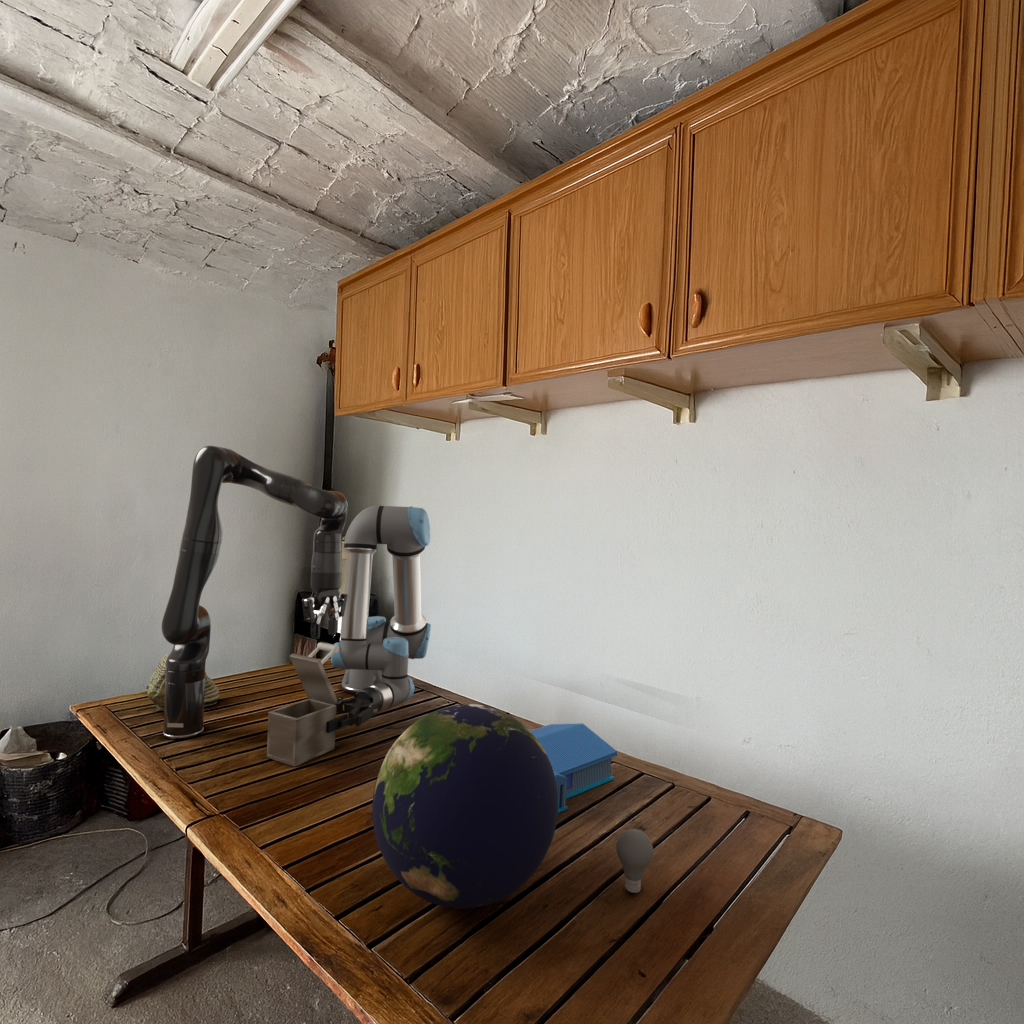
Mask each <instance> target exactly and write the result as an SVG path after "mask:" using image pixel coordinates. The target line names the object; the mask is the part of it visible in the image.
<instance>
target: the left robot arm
mask: <svg viewBox="0 0 1024 1024" xmlns="http://www.w3.org/2000/svg"><path fill="white" fill-rule="evenodd" d="M223 484H234V485H239V486H244V487H248V488H251V489H254V490H256V491H259V492H261V493H262V494H264V495H265V496H267V497H268V498H271V499H272V500H275V501H278V502H279V503H283V504H285V505H288V506H291V507H294V508H298V509H300V510H301V511H302V512H305V513H307V514H308V515H310V516H313V517H316V518H319V519H320V524H319V527H318V528H317V529H316V530H315V531H314V533H313V544H312V557H311V565H310V568H311V569H310V589H312V593H311V595H310V596H309V597H307V598H305V597H303V598H302V599H301V605H302V613H303V620H304V622H307V623H310V637H311V639H314V640H317V639H320V637H321V620H322V617H323V616H324V615H325V613H326V612H327V616H328V623H327V634H328V636H329V635H330V636H336V635H337V632H338V621H339V620H340V618H342V617H343V616H344V613H345V608H346V603H347V597H348V595H347V594H344V592H340V589H341V588H342V580H343V534H344V531H345V527H346V523H347V518H348V512H349V505H348V501H347V498H346V496H345V494H343V493H342V492H340V491H337V490H325V489H322V488H319V487H316V486H313V485H311V483H310V482H307V481H305V480H303V479H301V478H298V477H295V476H292V475H289V474H286V473H282V472H279V471H277V470H273V469H270V468H267V467H265V466H262V465H260V464H258V463H256V462H254V461H252V460H250V459H248V458H247V457H245V456H243V455H241V454H240V453H238V452H236V451H234V450H232V449H230V448H228V447H222V446H217V445H206V446H203V447H202V448H200V449H199V450H198V452H196V454H195V457H194V460H193V463H192V470H191V485H190V493H189V494H190V495H189V502H188V507H187V513H186V518H185V524H184V528H183V533H182V536H181V541H180V547H179V550H178V551H179V552H178V558H177V563H176V568H175V572H174V577H173V584H172V588H171V591H170V595H169V598H168V602H167V604H166V607H165V611H164V614H163V617H162V620H161V633H162V636H163V638H164V639H165V640H166V642H167V643H169V644H171V645H173V647H172V649H171V651H170V653H169V654H168V655H169V656H168V657H167V659H166V674H165V705H164V710H163V731H162V737H164V738H166V739H169V740H185V739H190V738H191V739H192V738H194V737H197V736H199V735H202V734H203V732H204V730H205V729H204V722H205V721H204V718H205V706H204V693H205V672H206V664H207V663H206V662H207V658H208V655H209V653H210V646H211V645H210V643H211V633H212V631H211V630H212V621H211V616H210V613H209V611H208V610H207V608H205V607H204V606H203V605H200V603H201V597H202V593H203V591H204V588H205V586H206V585H207V582H208V581H209V579H210V577H211V575H212V573H213V571H214V569H215V567H216V565H217V562H218V561H219V560H218V559H219V556H220V552H221V546H222V541H223V526H222V522H221V518H220V513H219V496H220V491H221V487H222V485H223ZM148 688H149V684H148V685H147V686H146V688H145V689H146V690H148Z"/></svg>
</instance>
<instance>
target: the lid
mask: <svg viewBox="0 0 1024 1024" xmlns="http://www.w3.org/2000/svg"><path fill="white" fill-rule="evenodd" d="M320 651H325V652H328V653H327V654H326V655H325V656H324V657H323V658H322V659H320V658H316V657H314V656H315V655H316V654H317V653H319V652H320ZM338 651H339V646H336V645H334V644H332V643H326V642H321V641H320V642H318V643H317V644H316V647H315V649H313V650H312V651H311V652H310V654H308V655H303V654H297V653H291V654H290V655H289V659H290V661H291V664H292V665H293V668H294V670H295V672H296V674H297V677H298V679H299V681H300V683H301V686H302V688H303V690H304V692H305V694H306V696H307V697H306V698H308V699H309V698H310V699H313V700H317V701H324V702H328V703H332V704H336V703H337V702H338V700H337V696H336V693H335V690H334V688H333V685H332V684H331V682H330V680H329V677H328V674H327V672H326V669H325V668H324V664H325V663H326V662H327V661H328V660H329V659H331V656H332V655H333V654H334V653H337V652H338Z"/></svg>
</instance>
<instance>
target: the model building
mask: <svg viewBox="0 0 1024 1024" xmlns="http://www.w3.org/2000/svg"><path fill="white" fill-rule="evenodd" d="M529 730H530V732H531V733H532V734H533V735H534V736H535V737H536V738H537V739H538V741H539V742H540V743H541V745H542V747H543V748H544V750H545V752H546V753H547V756H548V758H549V761H550V763H551V765H552V768H553V772H554V775H555V779H556V784H557V791H558V814H559V813H562V812H563V811H566V810H568V809H569V806H567V800H568V799H570V798H572V797H575V796H577V795H580V794H582V793H585V792H587V791H589V790H591V789H594V788H597V787H599V786H601V785H603V784H606V783H609V782H610V781H613V780H615V776H614V775H612V758H614V757H617V756H618V751H617V750H616V749H615V748H614V747H612V746H611V745H610V744H609V743H608V742H607V741H605V740H604V739H603V738H602V737H600V736H599V734H597V733H595V732H594V731H593V730H592V729H590V727H588V726H587V725H586V724H584V723H583V722H581V723H550V724H548V725H547V724H546V725H544V726H543V725H542V726H540V727H537V728H533V729H529Z"/></svg>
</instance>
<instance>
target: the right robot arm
mask: <svg viewBox="0 0 1024 1024" xmlns="http://www.w3.org/2000/svg"><path fill="white" fill-rule="evenodd" d="M430 542H431V525H430V519H429V515H428V512H427V511H426V509H425V508H423V507H416V506H415V507H414V506H412V505H411V506H392V505H379V504H377V505H371V506H368V507H366V508H364V509H363V510H361V511H360V512H359V513H357V514H356V516H355V517H354V519H352V521H351V523H350V524H349V526H348V528H347V530H346V533H345V536H344V541H343V543H344V544H343V550H344V551H345V552H346V563H345V575H344V586H343V587H344V589H343V593H344V594H347V595H348V597H347V603H346V608H345V613H344V616H343V617H341V626H340V627H341V628H340V641H339V642H335V643H333V645H336V646H339V651H338V652H337V653H334V654H333V655H332V656H331V657H330V662H331V666H332V667H333V668H334V669H343V670H345V672H344V675H343V678H342V681H341V686H340V687H341V690H342V691H343V692H345V693H347V694H352V695H354V696H353V697H348V698H346V699H344V696H342V695H340V696H336V698H337V700H338V702H337V703H336V704H333V705H336V714H338V713H340V715H339V716H336V718H335V719H332V720H330V721H327V730H326V732H327V733H330V732H332V731H335V732H336V731H337V730H339V729H342V728H345V727H347V726H353V725H355V726H356V727H360V726H361V725H363V724H364V723H366V722H367V721H369V720H370V719H371V718H373V717H375V716H378V714H379V713H380V712H381V711H384V710H387V709H389V708H392V707H394V706H397V705H401V704H403V703H404V702H406V701H407V700H410V699H411V698H412V697H413V695H414V693H415V685H414V681H413V679H412V678H411V677H410V676H409V675H408V671H409V660H415V659H416V660H420V659H422V660H423V659H424V658H425V657H426V656H427V652H428V647H429V642H430V637H431V630H432V624H431V623H429V622H427V618H426V617H425V615H424V614H422V577H421V575H422V574H421V571H422V570H421V554H422V553H424V552H425V550H426V547H427V546H429V544H430ZM378 545H386V551H387V552H388V554H389V555H391V556H392V557H391V558H392V581H393V605H394V607H393V608H394V609H393V610H394V615H393V616H392V617H391V619H390V620H389V621H387V619H386V617H385V616H380V615H376V616H375V615H374V616H369V613H370V601H371V600H370V598H371V584H372V571H373V557H374V554H375V553H376V552H377V549H378V548H377V547H378ZM321 702H324V701H321ZM325 703H328V702H325ZM329 704H332V703H329Z"/></svg>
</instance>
